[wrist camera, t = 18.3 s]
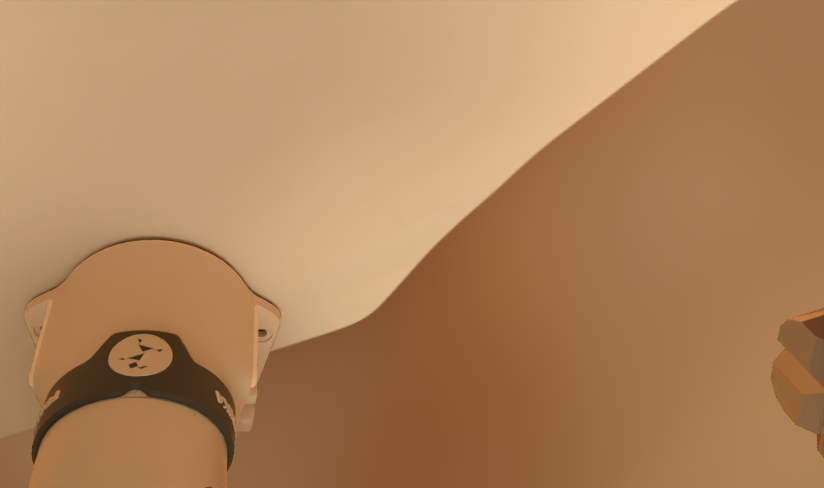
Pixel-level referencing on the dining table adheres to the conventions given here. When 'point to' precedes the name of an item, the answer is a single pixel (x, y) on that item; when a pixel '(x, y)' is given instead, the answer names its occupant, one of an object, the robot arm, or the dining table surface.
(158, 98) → the dining table surface
